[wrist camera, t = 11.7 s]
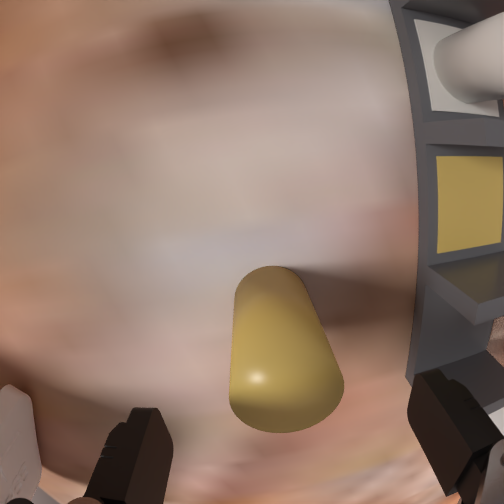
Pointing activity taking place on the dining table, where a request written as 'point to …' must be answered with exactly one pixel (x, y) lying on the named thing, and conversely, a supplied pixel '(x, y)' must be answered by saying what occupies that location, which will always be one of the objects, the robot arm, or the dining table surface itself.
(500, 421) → the white tapered rounded piece
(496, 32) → the plug white
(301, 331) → the plug mustard
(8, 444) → the cable organizer
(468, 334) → the grey compartment rack
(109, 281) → the dining table surface
